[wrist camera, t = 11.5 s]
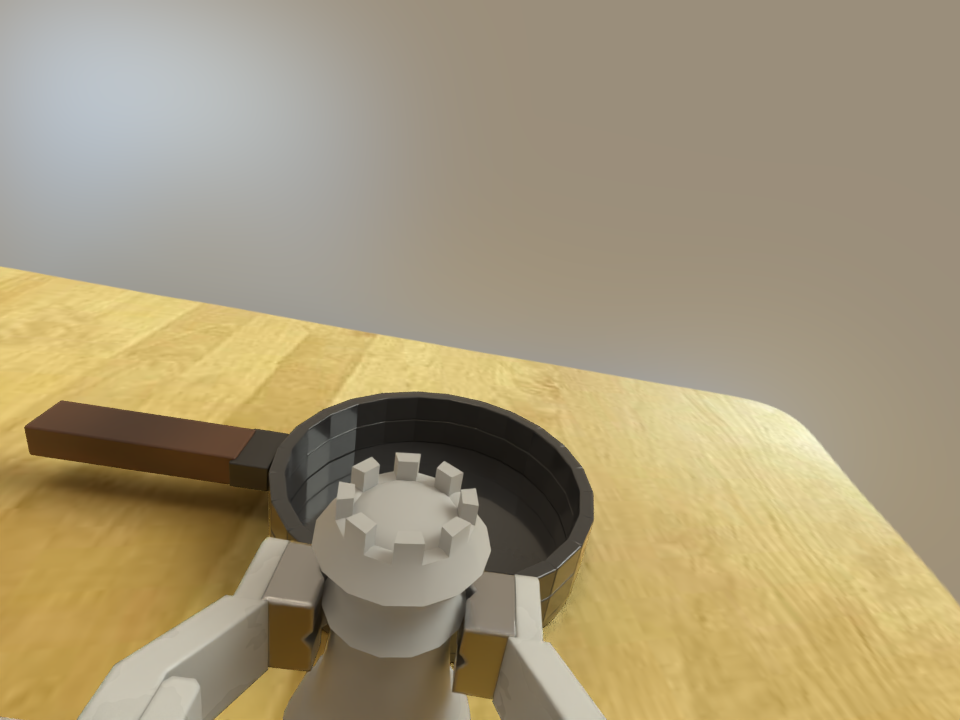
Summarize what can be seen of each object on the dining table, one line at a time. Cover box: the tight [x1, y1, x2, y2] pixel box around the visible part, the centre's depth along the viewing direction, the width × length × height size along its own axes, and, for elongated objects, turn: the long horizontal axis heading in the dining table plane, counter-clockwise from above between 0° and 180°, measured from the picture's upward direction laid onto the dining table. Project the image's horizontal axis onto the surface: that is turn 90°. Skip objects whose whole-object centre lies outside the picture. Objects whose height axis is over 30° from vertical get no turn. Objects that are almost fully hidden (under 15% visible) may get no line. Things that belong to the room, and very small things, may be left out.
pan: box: [268, 392, 594, 662], centre depth 25 cm, size 13×13×3 cm
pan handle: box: [24, 401, 289, 491], centre depth 25 cm, size 10×3×1 cm, turn 87°
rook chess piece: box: [283, 452, 491, 720], centre depth 12 cm, size 4×4×8 cm
